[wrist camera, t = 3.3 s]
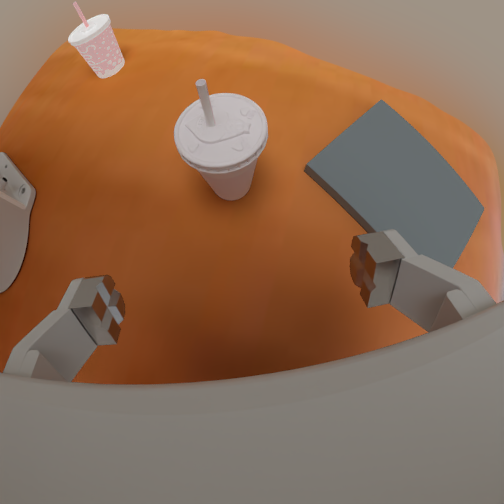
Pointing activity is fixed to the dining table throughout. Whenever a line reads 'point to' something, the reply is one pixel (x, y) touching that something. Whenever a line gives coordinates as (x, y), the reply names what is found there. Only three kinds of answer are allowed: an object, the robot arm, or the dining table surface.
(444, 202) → the slate board
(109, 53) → the beverage cup
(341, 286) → the dining table surface
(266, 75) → the dining table surface
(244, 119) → the smoothie
